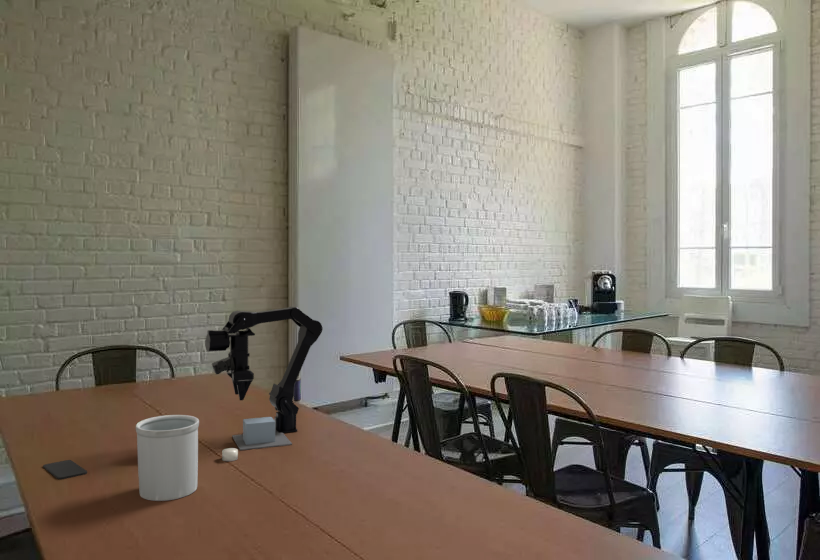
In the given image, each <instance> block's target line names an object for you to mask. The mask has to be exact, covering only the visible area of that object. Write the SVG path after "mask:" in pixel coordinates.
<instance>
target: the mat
mask: <svg viewBox="0 0 820 560" xmlns="http://www.w3.org/2000/svg"><path fill="white" fill-rule="evenodd" d="M231 437H232V439H233V440H234V442H235V445H236V446H237V449H238V450H239V451H247V450H249V451H250V450H256V449H266V448H267V449H268V448H275V447H276V448H277V447H284V446H285V447H286V446H292V445H293V443H292V441H291V440H290V439H289V438H288V437H287V436H286V435H285V433H283V432H280V433H279V432H278V431H276V430H275V442H268V443H259V444H249V445H246V443H245V442H244V440H243V433H242V434H241V433H240V434H234V435H231Z"/></svg>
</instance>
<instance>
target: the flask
mask: <svg viewBox="0 0 820 560" xmlns="http://www.w3.org/2000/svg"><path fill="white" fill-rule="evenodd" d="M301 383H302V377H301V376H300V374H299V375H298V378H297V380H296V382H295V385H294V397H293V402H297V403H299V402H300V401H301V400H302V396H301V395H302V392H301V391H302V388H301V386H302V384H301Z"/></svg>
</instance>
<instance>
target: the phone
mask: <svg viewBox="0 0 820 560" xmlns="http://www.w3.org/2000/svg"><path fill="white" fill-rule="evenodd" d="M42 468H44V469H45V470H46V471H47V472H48V473H49V474H51V476H53V477H54V478H55V479H56V480H59V481H60V480H61V481H62V480H66V479H71V478H75V477H80V476H85V475H87V474H88V470H86V469H85V468H84V467H82V466H80V465H79V464H77V463H76V462H75V461H73V460H71V459H65V460H59V461H55V462H50V463H46V464H43V466H42Z"/></svg>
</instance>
